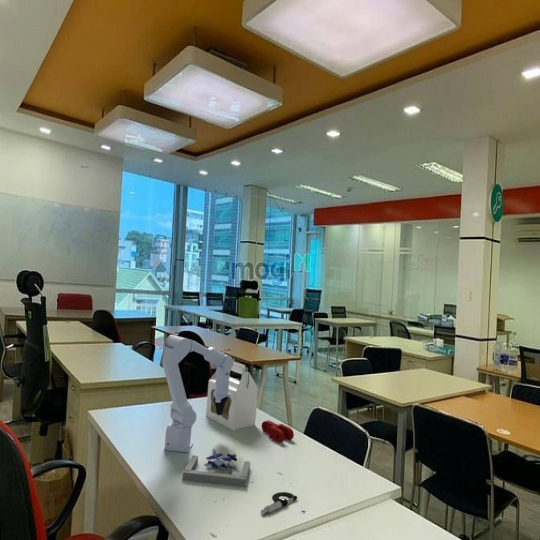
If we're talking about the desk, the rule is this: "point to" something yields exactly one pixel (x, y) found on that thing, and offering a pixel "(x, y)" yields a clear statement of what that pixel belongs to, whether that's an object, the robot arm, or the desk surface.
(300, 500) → the desk surface
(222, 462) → the toy airplane
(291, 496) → the micrometer
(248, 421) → the gable box
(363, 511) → the desk surface
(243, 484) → the cradle
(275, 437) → the mechanical linkage
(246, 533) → the desk surface
